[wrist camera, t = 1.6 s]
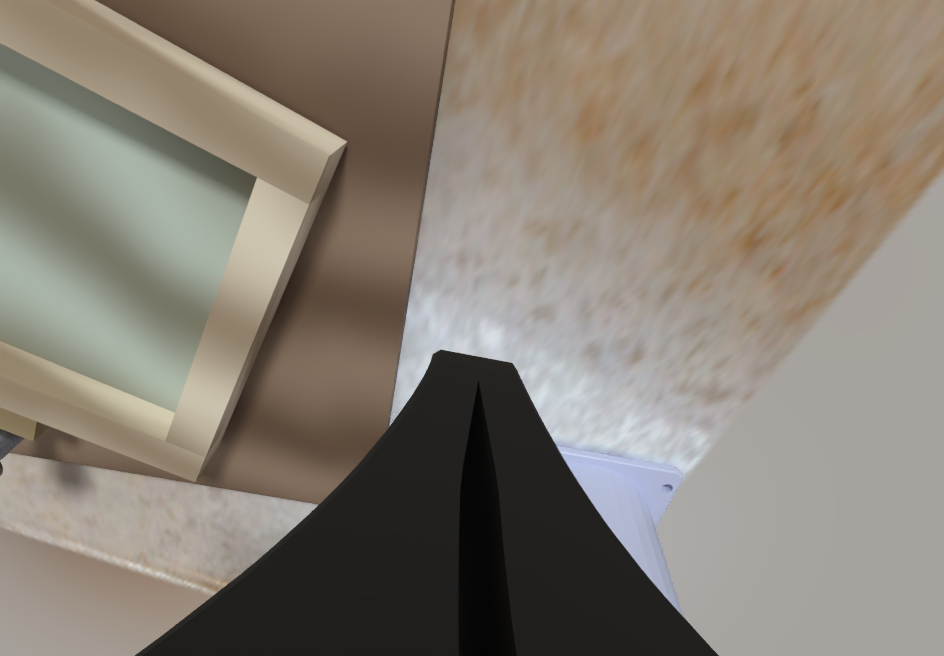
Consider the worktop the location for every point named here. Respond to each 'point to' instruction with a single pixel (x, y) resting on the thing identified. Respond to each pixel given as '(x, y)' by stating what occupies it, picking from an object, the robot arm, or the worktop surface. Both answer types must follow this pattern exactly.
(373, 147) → the walnut board
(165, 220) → the picture frame
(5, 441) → the knob
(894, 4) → the worktop surface
